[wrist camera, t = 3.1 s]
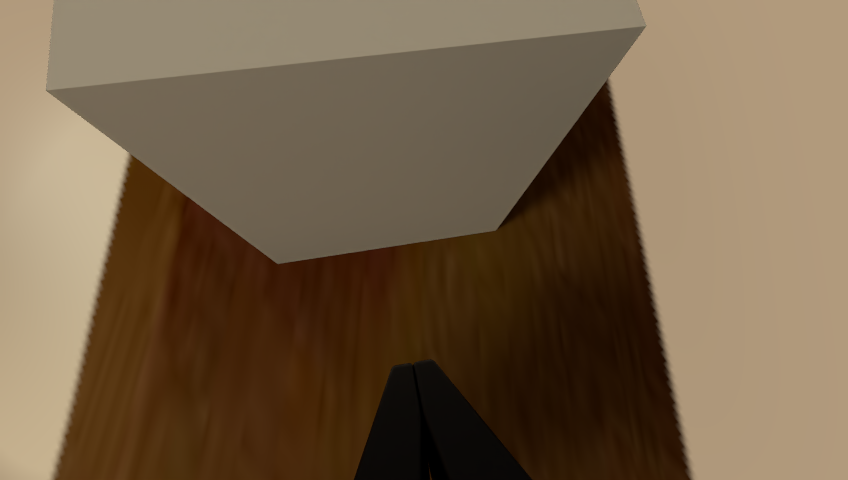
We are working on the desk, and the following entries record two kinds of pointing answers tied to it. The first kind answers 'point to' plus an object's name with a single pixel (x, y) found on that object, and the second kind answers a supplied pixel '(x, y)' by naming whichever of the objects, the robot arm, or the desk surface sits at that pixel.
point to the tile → (339, 106)
